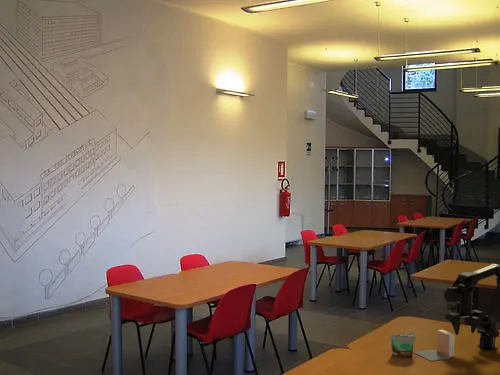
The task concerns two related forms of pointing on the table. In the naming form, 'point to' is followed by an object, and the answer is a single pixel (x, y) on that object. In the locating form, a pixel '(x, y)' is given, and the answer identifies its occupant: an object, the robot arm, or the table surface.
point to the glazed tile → (445, 343)
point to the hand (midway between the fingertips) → (464, 333)
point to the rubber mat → (432, 355)
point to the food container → (402, 345)
